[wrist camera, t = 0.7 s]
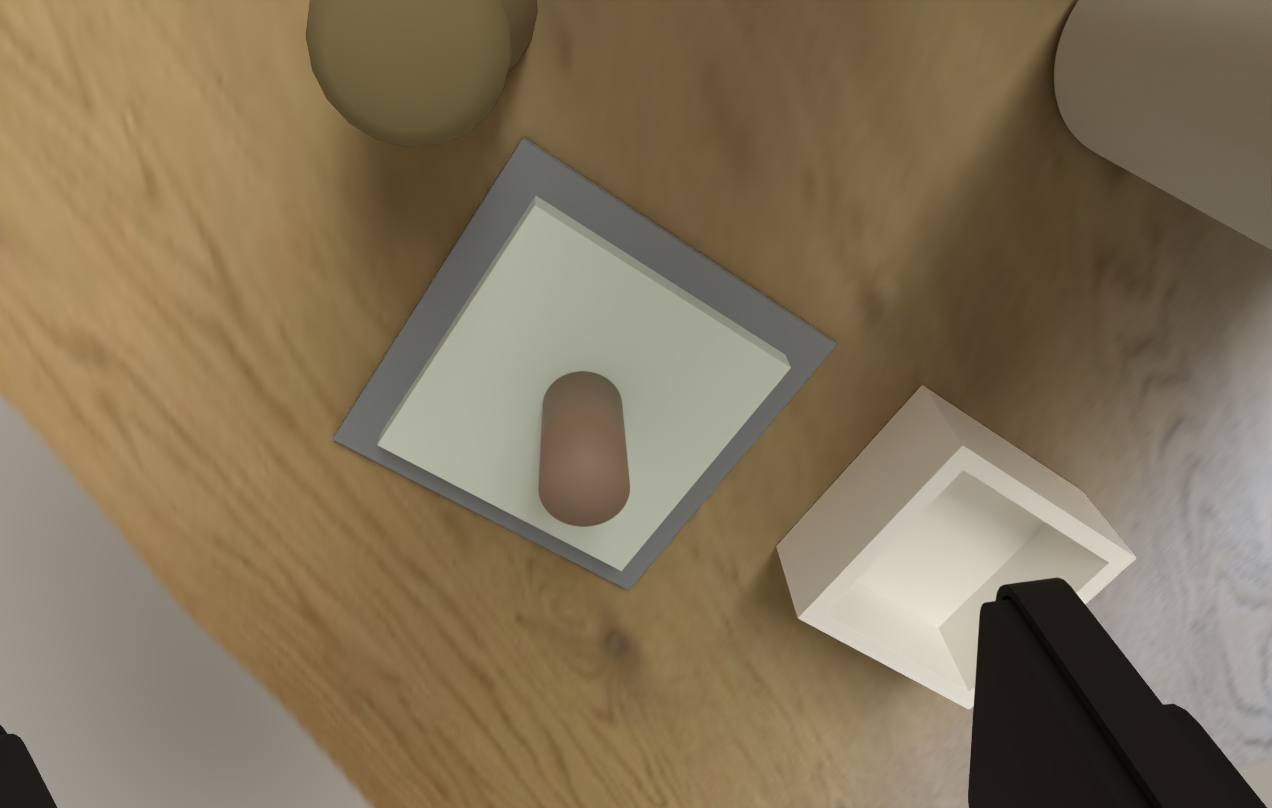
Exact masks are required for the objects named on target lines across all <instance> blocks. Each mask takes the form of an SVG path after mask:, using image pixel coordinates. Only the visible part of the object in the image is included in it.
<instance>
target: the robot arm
mask: <svg viewBox="0 0 1272 808" xmlns="http://www.w3.org/2000/svg"><path fill="white" fill-rule="evenodd" d="M968 803H969V808H1267V807H1266V806H1265V805H1264V803H1263V802H1262V801H1261V800H1260V798H1259V797H1258V796H1257V795H1256V793H1255V792H1254V791H1253V790H1252V788H1251V787H1250V786H1249V785H1248V784H1247V782H1246V781H1245V780H1244V779H1243V777H1242V776H1241V775H1240V773H1239V772H1238V771H1237V770H1236V768H1235V767H1234V766H1233V765H1232V763H1231V762H1230V761H1229V760H1228V759H1227V757H1226V756H1225V755H1224V754H1223V752H1222V751H1221V750H1220V749H1219V747H1218V746H1217V745H1216V744H1215V742H1214V741H1213V740H1212V739H1211V737H1210V736H1209V735H1208V734H1207V732H1206V731H1205V730H1204V729H1203V727H1202V726H1201V725H1200V724H1199V723H1198V722H1197V721H1196V720H1195V719H1194V718H1193V717H1192V716H1191V715H1190V714H1189V713H1188V712H1187V711H1186V710H1185V709H1183V708H1181V707H1179V706H1177V705H1175V704H1167V705H1163V704H1162V703H1161V702H1160V700H1159V699H1158V698H1157V696H1156V695H1155V694H1154V693H1153V691H1152V690H1151V689H1150V687H1149V686H1148V685H1147V684H1146V682H1145V681H1144V680H1143V678H1142V677H1141V676H1140V675H1139V673H1138V672H1137V671H1136V669H1135V668H1134V667H1133V666H1132V664H1131V663H1130V662H1129V660H1128V659H1127V658H1126V657H1125V655H1124V654H1123V653H1122V651H1121V650H1120V649H1119V648H1118V646H1117V645H1116V644H1115V642H1114V641H1113V640H1112V639H1111V637H1110V636H1109V635H1108V633H1107V632H1106V631H1105V630H1104V628H1103V627H1102V626H1101V624H1100V623H1099V622H1098V621H1097V619H1096V618H1095V617H1094V615H1093V614H1092V613H1091V612H1090V610H1089V609H1088V608H1087V606H1086V605H1085V604H1084V603H1083V601H1082V600H1081V599H1080V597H1079V596H1078V595H1077V594H1076V592H1075V591H1074V590H1073V588H1072V587H1071V586H1070V585H1069V584H1068V583H1067V582H1066V581H1065V580H1064V579H1061V578H1058V577H1057V578H1049V579H1042V580H1034V581H1027V582H1020V583H1012V584H1005V585H1002V586H1000V587H999V589H998V591H997V595H996V600H995V601H992V602H986V603H983V604H982V606H981V609H980V615H979V631H978V647H977V663H976V678H975V694H974V710H973V726H972V742H971V758H970V774H969V790H968ZM0 808H57V806H56V804H55V802H54V800H53V799H52V796H51V795H50V793H49V791H48V789H47V787H46V785H45V783H44V781H43V779H42V777H41V775H40V773H39V771H38V769H37V767H36V765H35V763H34V761H33V759H32V758H31V756H30V754H29V752H28V750H27V748H26V746H25V744H24V742H23V741H22V740H21V738H20V737H18V736H17V735H15V734H7V732H6V731H5V730H4V728H3V727H2V726H1V725H0Z"/></svg>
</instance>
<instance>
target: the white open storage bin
mask: <svg viewBox="0 0 1272 808" xmlns="http://www.w3.org/2000/svg"><path fill="white" fill-rule="evenodd" d="M776 548H777V551H778V554H779V558H780V561H781V564H782V568H783V571H784V574H785V578H786V581H787V584H788V587H789V591H790V594H791V597H792V601H793V604H794V607H795V611H796V614H797V617H798V619H800V620H802V621H804V622H806V623H807V624H809V625H811V626H813V627H815V628H817V629H819V630H821V631H822V632H824V633H826V634H828V635H830V636H832V637H834V638H836V639H837V640H839V641H841V642H843V643H845V644H847V645H849V646H851V647H852V648H854V649H856V650H858V651H860V652H862V653H864V654H866V655H867V656H869V657H871V658H873V659H875V660H877V661H879V662H881V663H882V664H884V665H886V666H888V667H890V668H892V669H894V670H896V671H897V672H899V673H901V674H903V675H905V676H907V677H909V678H911V679H912V680H914V681H916V682H918V683H920V684H922V685H924V686H926V687H927V688H929V689H931V690H933V691H935V692H937V693H939V694H941V695H942V696H944V697H946V698H948V699H950V700H952V701H954V702H956V703H957V704H959V705H961V706H963V707H965V708H967V709H971V708H972V707H973V706H974V694H975V678H976V663H977V647H978V631H979V615H980V609H981V606H982V604H983V603H986V602H992V601H995V600H996V595H997V591H998V589H999V587H1000V586H1002V585H1005V584H1012V583H1020V582H1027V581H1034V580H1042V579H1049V578H1057V577H1058V578H1061V579H1064V580H1065V581H1066V582H1067V583H1068V584H1069V585H1070V586H1071V587H1072V588H1073V590H1074V591H1075V592H1076V594H1077V595H1078V596H1079V597H1080V599H1081V600H1082V601H1083V603H1084V604H1086V603H1088V602H1089V601H1090V600H1091V599H1092V598H1093V597H1094V596H1095V595H1096V594H1098V593H1099V592H1100V591H1101V590H1102V589H1103V588H1104V587H1105V586H1106V585H1107V584H1109V583H1110V582H1111V581H1112V580H1113V579H1114V578H1115V577H1116V576H1117V575H1118V574H1120V573H1121V572H1122V571H1123V570H1124V569H1125V568H1126V567H1127V566H1128V565H1130V564H1131V563H1132V562H1133V561H1134V560H1135V559H1136V557H1135V555H1134V554H1133V553H1132V552H1131V550H1130V549H1129V548H1128V547H1127V546H1126V544H1125V543H1124V542H1123V541H1122V539H1121V538H1120V537H1119V536H1118V534H1117V533H1116V532H1115V531H1114V530H1113V528H1112V527H1111V526H1110V525H1109V523H1108V522H1107V521H1106V520H1105V518H1104V517H1103V516H1102V515H1101V514H1100V512H1099V511H1098V510H1097V509H1096V507H1095V506H1094V505H1093V504H1092V503H1091V501H1090V500H1089V499H1088V498H1087V496H1086V495H1085V494H1084V493H1083V491H1081V490H1080V489H1078V488H1077V487H1075V486H1074V485H1072V484H1071V483H1069V482H1068V481H1066V480H1065V479H1063V478H1062V477H1060V476H1059V475H1057V474H1056V473H1054V472H1053V471H1051V470H1050V469H1048V468H1047V467H1045V466H1044V465H1042V464H1041V463H1039V462H1038V461H1036V460H1035V459H1033V458H1032V457H1030V456H1029V455H1027V454H1026V453H1024V452H1023V451H1021V450H1020V449H1018V448H1017V447H1015V446H1014V445H1012V444H1011V443H1009V442H1008V441H1006V440H1005V439H1003V438H1002V437H1000V436H999V435H997V434H996V433H994V432H992V431H991V430H989V429H988V428H986V427H985V426H983V425H982V424H980V423H979V422H977V421H976V420H974V419H973V418H971V417H970V416H968V415H967V414H965V413H964V412H962V411H961V410H959V409H958V408H956V407H955V406H953V405H952V404H950V403H949V402H947V401H946V400H944V399H943V398H941V397H940V396H938V395H937V394H935V393H934V392H932V391H931V390H929V389H928V388H926V387H925V386H923V385H921V387H920V388H919V389H918V390H917V391H916V392H915V393H914V394H913V395H912V397H911V398H910V399H909V400H908V401H907V402H906V403H905V404H904V405H903V406H902V408H901V409H900V410H899V411H898V412H897V413H896V414H895V415H894V416H893V417H892V419H891V420H890V421H889V422H888V423H887V424H886V425H885V426H884V427H883V429H882V430H881V431H880V432H879V433H878V434H877V435H876V436H875V437H874V438H873V440H872V441H871V442H870V443H869V444H868V445H867V446H866V447H865V448H864V450H863V451H862V452H861V453H860V454H859V455H858V456H857V457H856V458H855V459H854V461H853V462H852V463H851V464H850V465H849V466H848V467H847V468H846V469H845V471H844V472H843V473H842V474H841V475H840V476H839V477H838V478H837V479H836V480H835V482H834V483H833V484H832V485H831V486H830V487H829V488H828V489H827V490H826V492H825V493H824V494H823V495H822V496H821V497H820V498H819V499H818V500H817V501H816V503H815V504H814V505H813V506H812V507H811V508H810V509H809V510H808V511H807V513H806V514H805V515H804V516H803V517H802V518H801V519H800V520H799V521H798V522H797V524H796V525H795V526H794V527H793V528H792V529H791V530H790V531H789V532H788V534H787V535H786V536H785V537H784V538H783V539H782V540H781V541H780V542H779V543H778V545H777V546H776Z"/></svg>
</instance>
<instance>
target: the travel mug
mask: <svg viewBox="0 0 1272 808" xmlns="http://www.w3.org/2000/svg"><path fill="white" fill-rule="evenodd" d="M1054 87H1055V94H1056V100H1057V104H1058V107H1059V110H1060V113H1061V115H1062V118H1063V120H1064V121H1065V123H1066V125H1067V127H1068V128H1069V130H1070V131H1071V132H1072V134H1073V135H1074V136H1075V137H1076V138H1077V139H1078V140H1079V141H1080V142H1081V143H1082V144H1083V145H1084V146H1085V147H1087V148H1088V149H1090V150H1091V151H1093V152H1095V153H1096V154H1098V155H1100V156H1102V157H1104V158H1106V159H1107V160H1109V161H1111V162H1113V163H1115V164H1116V165H1118V166H1120V167H1122V168H1124V169H1125V170H1127V171H1129V172H1131V173H1133V174H1134V175H1136V176H1138V177H1140V178H1142V179H1144V180H1145V181H1147V182H1149V183H1151V184H1153V185H1154V186H1156V187H1158V188H1160V189H1162V190H1163V191H1165V192H1167V193H1169V194H1171V195H1172V196H1174V197H1176V198H1178V199H1180V200H1181V201H1183V202H1185V203H1187V204H1189V205H1191V206H1192V207H1194V208H1196V209H1198V210H1200V211H1201V212H1203V213H1205V214H1207V215H1209V216H1210V217H1212V218H1214V219H1216V220H1218V221H1219V222H1221V223H1223V224H1225V225H1227V226H1229V227H1230V228H1232V229H1234V230H1236V231H1238V232H1239V233H1241V234H1243V235H1245V236H1247V237H1248V238H1250V239H1252V240H1254V241H1256V242H1257V243H1259V244H1261V245H1263V246H1265V247H1266V248H1268V249H1270V250H1272V0H1078V2H1077V3H1076V5H1075V7H1074V8H1073V10H1072V12H1071V14H1070V16H1069V18H1068V20H1067V22H1066V24H1065V27H1064V29H1063V32H1062V35H1061V38H1060V41H1059V44H1058V49H1057V53H1056V59H1055V66H1054Z"/></svg>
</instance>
